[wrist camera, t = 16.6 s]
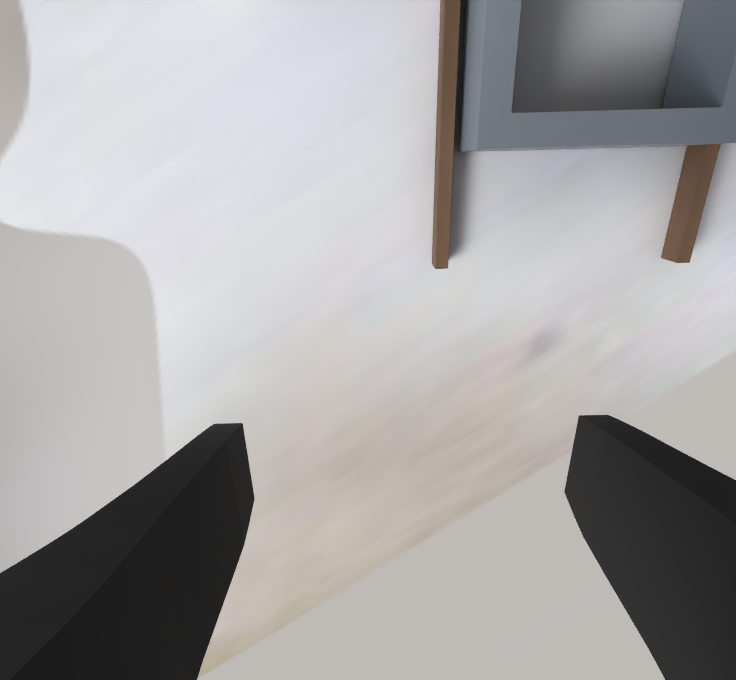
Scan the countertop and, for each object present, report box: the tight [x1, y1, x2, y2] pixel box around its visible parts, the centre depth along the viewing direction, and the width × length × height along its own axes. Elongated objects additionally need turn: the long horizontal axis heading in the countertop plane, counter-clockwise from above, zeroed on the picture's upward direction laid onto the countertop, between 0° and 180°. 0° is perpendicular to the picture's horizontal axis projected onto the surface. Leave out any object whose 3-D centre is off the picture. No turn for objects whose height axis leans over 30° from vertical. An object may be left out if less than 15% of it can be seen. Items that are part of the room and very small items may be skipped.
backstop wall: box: [432, 0, 721, 269], centre depth 13 cm, size 12×15×5 cm
